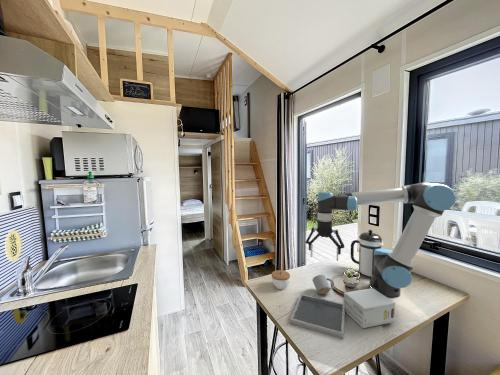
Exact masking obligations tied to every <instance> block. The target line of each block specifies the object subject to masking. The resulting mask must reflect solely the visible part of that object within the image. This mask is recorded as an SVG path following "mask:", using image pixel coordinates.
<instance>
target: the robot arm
mask: <svg viewBox="0 0 500 375" xmlns="http://www.w3.org/2000/svg"><path fill="white" fill-rule="evenodd" d="M456 199H457V196H456V193H455V191H454V190H453V189H452V188H451V187H449V186H448V185H446V184H442V183H438V182H419V183H415V184H414V183H413V184H407V185H401V187H397V188H395V187H394V188H385V189H378V190H377V189H375V190H365V191H355V192H348V193H346V192H345V193H343V192H340V193H337V194H336V195H334V194H333V192H330V191H320V192H318V193H317V224H316V225H317V228H316V227H311V228H310V229H311V230H310V231H311V232H310V233H309V234H308V237H307V239H306V240H305V244H307V245H308V251H310V257H313V255H314V254H313V252H314V248H313V247H314V242H315V241H316V240H317V239H318V238H319V237H320V238H329V239H330V240H331V241H332V242H333V244H334V245H335V246H336V261H337V262H339V256H340V255H341V254H342V252H341V250H342V249H345V245H344V242H343V239H342V238H341V236H340V234H339V230H338V229H333V221H332V220H333V210H335V211H348V212H350V211H356V210H357V209H358V206H363V205H377V204H378V205H379V204H391V203H404V204H412V207H413V212H412V213H411V216H410V217H409V219H408V221H407V223H406V225H405V227H404V229H403V231H402V233H401V235H400V237H399V239H398V240H397V243H396V245H395V247H394V248H393V250H392V249H388V248H381V249H375V250H374V254H373V255H374V261H373V276H372V277H371V278H370V280H369V285H370V286H371V287H372V288H373V289H375V290H376V291H378V292H380V293H381V294H383V295H384V296H386V297H388V298H389V297H391V298H392V297H393V298H394V297H399V296H401V292H402V291H401V290H402V289H404V288H406V287H408V286H410V285H411V284H412V281H413V276H412V274H411V273H412V271H413V268H414V263H413V260H414V259H415V257H416V256H417V253H418V251H419V249H420V247H421V246H422V244H423V241H424V240H425V238H426V236H427V234H428V233H429V230H430V229H431V227H432V225H433V223H434V222H435V219H436V218H438V217H442V216H443V214H444V212H445V211H446V210H449V209H450V208H452V207H454V205H455V203H456ZM315 232H317V233H316V235H315V236H314V237H313V235H314V233H315ZM333 233H334V235H335V237H336V238H335V237H334V236H333ZM311 237H313V238H312V239H311ZM310 239H311V240H310ZM336 239H337V240H336ZM370 286H369V287H370Z"/></svg>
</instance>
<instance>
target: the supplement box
mask: <svg viewBox="0 0 500 375" xmlns="http://www.w3.org/2000/svg"><path fill="white" fill-rule="evenodd" d="M343 304H344V308H345V314H347V315H348V316H349V317H350V318H351V319H352V320H353V321H354V322H356V323H357V324H358V326H359V327H360V328H362V329H366V328H372V327H376V326H380V325H387V324H390V323H394V322H395V314H396V313H395V312H396V302H395V301H393V300H392V299H391V298H389V297H388V296H384V295H383V294H381V293H380V292H378V291H376V290H375V289H373V288H370V287H369V288H363V289H359V290H353V291H352V290H351V291H344V292H343Z"/></svg>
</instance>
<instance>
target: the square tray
mask: <svg viewBox="0 0 500 375" xmlns="http://www.w3.org/2000/svg"><path fill="white" fill-rule="evenodd" d="M345 318H346V312H345V308H344V302H343V303H342V302H339V301H333V300H331V299H330V300H329V299H326V298H325V299H324V298H321V297H316V296H311V295H309V294H302V293H300V294H299V297H298V300H297V302H296V304H295V306H294V309H293V311H292V314H291V316H290V319H289V324H291V325H294V326H297V327H301V328H304V329H307V330H311V331H315V332H318V333H320V334H321V333H322V334H326V335H328V336H332V337H335V338H338V339H342V340H344V339H345V338H344V337H345V321H346V320H345Z"/></svg>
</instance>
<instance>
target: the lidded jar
mask: <svg viewBox="0 0 500 375" xmlns="http://www.w3.org/2000/svg"><path fill="white" fill-rule="evenodd" d="M290 280H291V274H290V272H288V271H287V270H282V269H281V270H278V269H277V270H274V271H272V272H271V282H272V284H273V286H274V287H275V288H276V289H277V290H285V289H287V287H288V286H289V284H290Z"/></svg>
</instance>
